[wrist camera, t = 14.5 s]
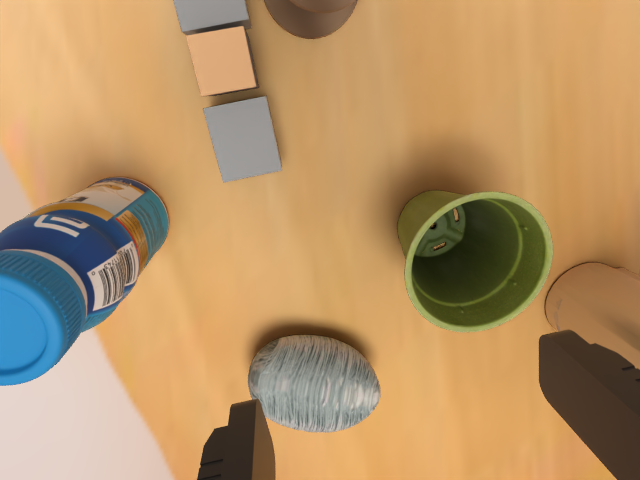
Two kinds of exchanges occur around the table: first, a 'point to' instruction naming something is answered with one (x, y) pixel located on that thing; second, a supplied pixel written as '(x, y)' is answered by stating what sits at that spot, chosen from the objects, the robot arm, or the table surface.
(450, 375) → the table surface
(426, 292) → the plant pot
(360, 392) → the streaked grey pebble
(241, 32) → the tan rectangular block
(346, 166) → the table surface
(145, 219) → the beverage bottle
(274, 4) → the bobbin
